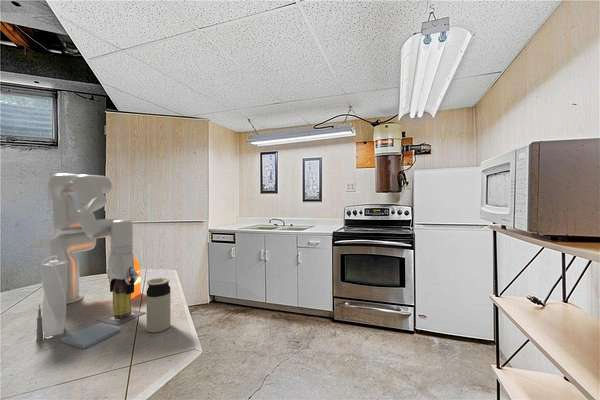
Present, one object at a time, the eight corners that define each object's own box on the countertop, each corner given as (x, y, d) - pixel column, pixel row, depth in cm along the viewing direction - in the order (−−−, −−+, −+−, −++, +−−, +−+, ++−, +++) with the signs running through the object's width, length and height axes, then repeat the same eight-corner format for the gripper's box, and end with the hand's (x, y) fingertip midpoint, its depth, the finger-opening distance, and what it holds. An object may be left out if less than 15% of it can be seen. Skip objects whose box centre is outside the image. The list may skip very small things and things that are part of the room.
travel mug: (146, 335, 96) (145, 285, 96) (147, 325, 103) (146, 279, 103) (170, 330, 100) (170, 281, 100) (170, 321, 107) (170, 276, 107)
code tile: (96, 320, 107) (96, 319, 107) (125, 308, 119) (125, 308, 119) (118, 325, 103) (118, 324, 103) (145, 312, 115) (145, 312, 115)
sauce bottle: (118, 312, 114) (118, 266, 114) (134, 312, 114) (134, 265, 114) (109, 319, 107) (108, 270, 107) (125, 319, 108) (125, 270, 108)
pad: (60, 342, 92) (60, 339, 92) (97, 326, 103) (97, 323, 103) (84, 348, 87) (84, 345, 87) (120, 331, 99) (120, 328, 99)
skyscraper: (39, 332, 98) (39, 256, 98) (69, 326, 103) (68, 253, 103) (35, 342, 92) (35, 260, 91) (67, 335, 96) (66, 257, 96)
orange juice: (140, 293, 138) (140, 254, 138) (130, 299, 129) (130, 258, 129) (125, 293, 138) (125, 254, 137) (113, 299, 129) (113, 258, 129)
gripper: (97, 250, 110) (98, 292, 110) (128, 253, 104) (128, 298, 104) (115, 247, 117) (116, 286, 117) (145, 249, 111) (145, 291, 111)
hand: (122, 292), depth 111 cm, fingers open, 8 cm apart
